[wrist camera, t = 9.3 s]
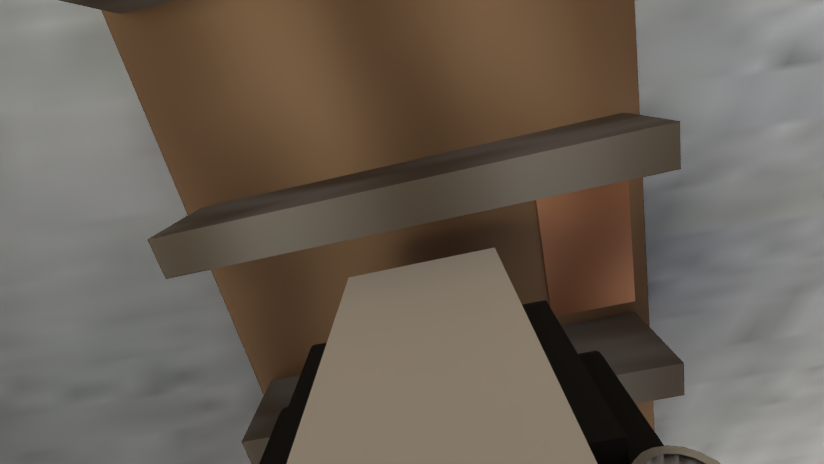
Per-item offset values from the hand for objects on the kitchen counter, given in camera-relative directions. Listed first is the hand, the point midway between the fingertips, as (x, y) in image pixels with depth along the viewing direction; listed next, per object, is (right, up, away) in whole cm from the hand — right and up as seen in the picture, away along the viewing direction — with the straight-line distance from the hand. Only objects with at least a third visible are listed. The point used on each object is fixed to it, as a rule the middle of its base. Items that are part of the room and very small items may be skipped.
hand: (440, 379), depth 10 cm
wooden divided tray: (0, +2, +6) cm, 7 cm away
